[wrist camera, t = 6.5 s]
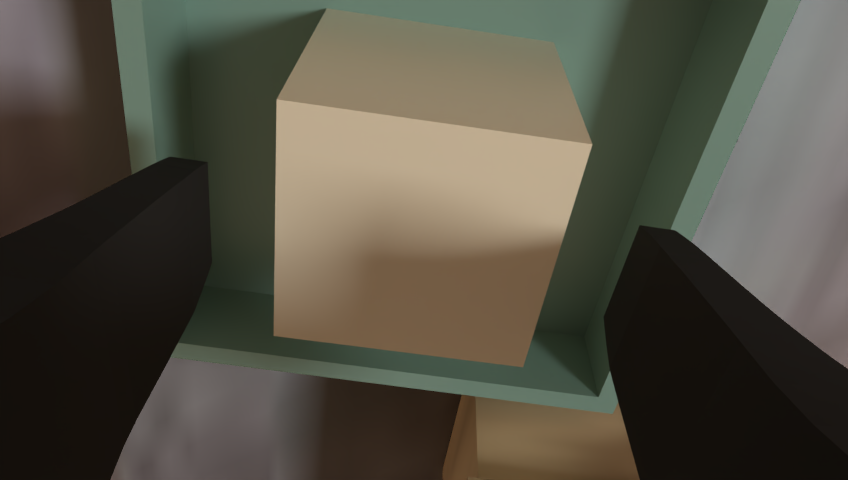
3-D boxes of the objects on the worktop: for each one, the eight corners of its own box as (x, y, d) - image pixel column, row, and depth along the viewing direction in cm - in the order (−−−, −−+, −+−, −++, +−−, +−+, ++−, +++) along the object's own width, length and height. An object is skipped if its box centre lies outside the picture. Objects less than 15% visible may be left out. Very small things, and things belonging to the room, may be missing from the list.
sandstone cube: (553, 42, 13) (592, 144, 10) (506, 229, 16) (523, 367, 12) (326, 8, 13) (276, 99, 9) (316, 203, 16) (273, 335, 12)
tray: (770, -102, 12) (835, -78, 10) (594, 342, 18) (612, 414, 16) (152, -208, 11) (86, -205, 9) (187, 288, 18) (153, 354, 16)
